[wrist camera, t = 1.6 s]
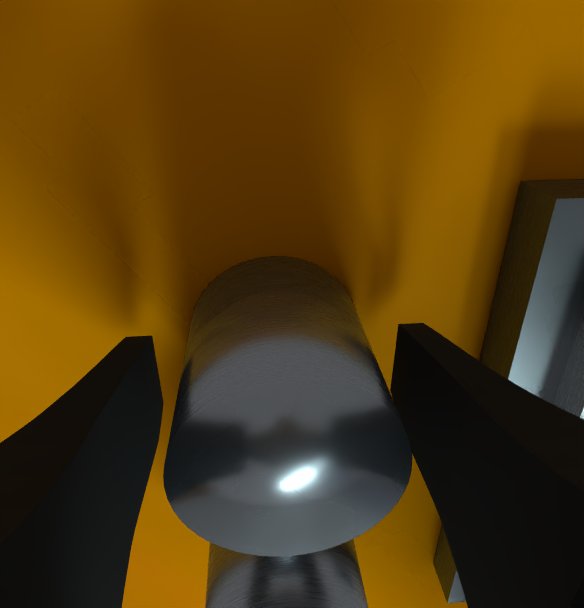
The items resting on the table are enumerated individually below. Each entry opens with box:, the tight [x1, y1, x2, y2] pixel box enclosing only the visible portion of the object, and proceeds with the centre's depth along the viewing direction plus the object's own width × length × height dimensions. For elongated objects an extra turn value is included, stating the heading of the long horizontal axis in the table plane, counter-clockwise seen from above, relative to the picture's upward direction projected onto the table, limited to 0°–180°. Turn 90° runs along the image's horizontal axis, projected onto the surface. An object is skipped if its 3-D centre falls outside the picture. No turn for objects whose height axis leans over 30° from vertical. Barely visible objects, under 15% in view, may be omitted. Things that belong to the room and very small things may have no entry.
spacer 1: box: [163, 256, 412, 557], centre depth 11 cm, size 4×4×5 cm
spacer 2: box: [205, 539, 368, 608], centre depth 14 cm, size 4×4×5 cm
